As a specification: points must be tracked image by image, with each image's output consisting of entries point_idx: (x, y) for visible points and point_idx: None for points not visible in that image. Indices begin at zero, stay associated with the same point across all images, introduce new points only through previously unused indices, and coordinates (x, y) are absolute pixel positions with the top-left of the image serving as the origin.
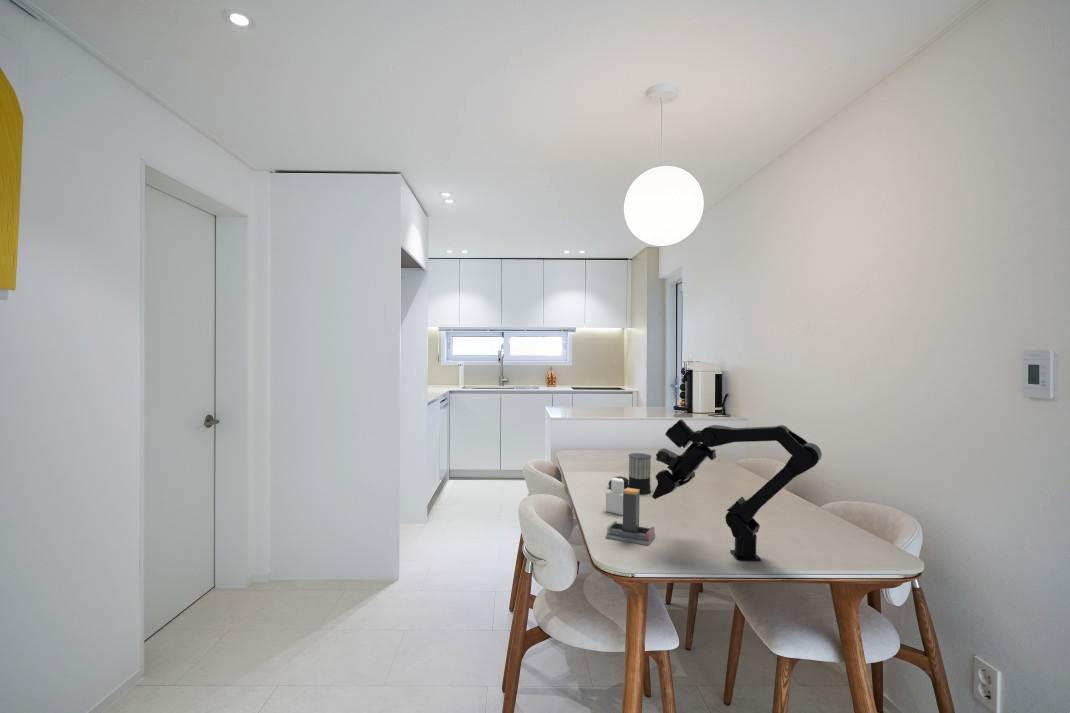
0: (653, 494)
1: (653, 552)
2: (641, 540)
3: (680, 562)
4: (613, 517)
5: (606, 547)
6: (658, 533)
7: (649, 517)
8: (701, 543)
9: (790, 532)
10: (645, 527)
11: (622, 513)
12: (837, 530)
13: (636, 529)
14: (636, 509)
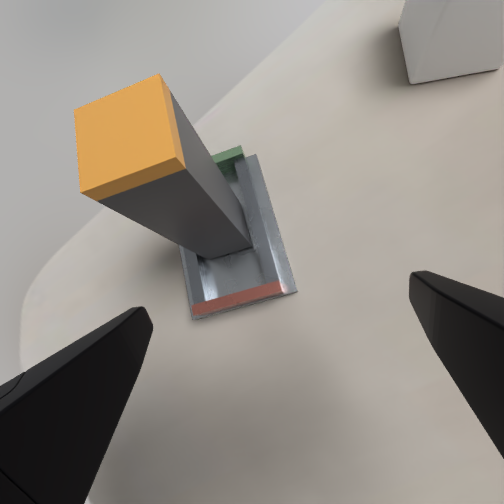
0: (108, 325)
1: (154, 365)
2: (191, 295)
3: (128, 485)
4: (361, 81)
5: (112, 236)
6: (332, 285)
7: (485, 156)
8: (360, 487)
9: None
10: (271, 257)
11: (412, 77)
12: None
13: (213, 252)
14: (170, 229)
